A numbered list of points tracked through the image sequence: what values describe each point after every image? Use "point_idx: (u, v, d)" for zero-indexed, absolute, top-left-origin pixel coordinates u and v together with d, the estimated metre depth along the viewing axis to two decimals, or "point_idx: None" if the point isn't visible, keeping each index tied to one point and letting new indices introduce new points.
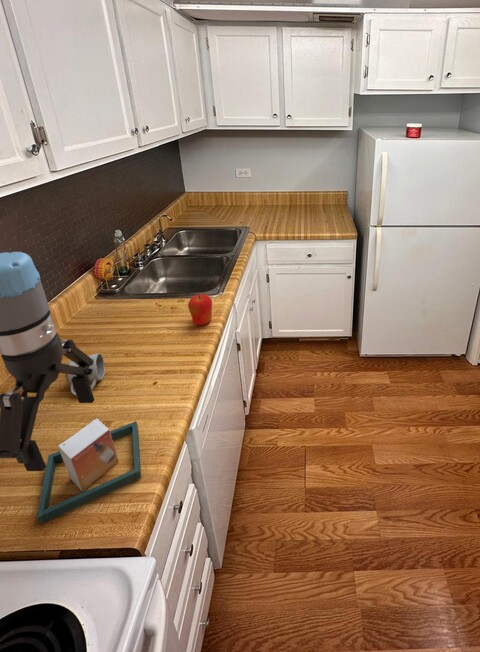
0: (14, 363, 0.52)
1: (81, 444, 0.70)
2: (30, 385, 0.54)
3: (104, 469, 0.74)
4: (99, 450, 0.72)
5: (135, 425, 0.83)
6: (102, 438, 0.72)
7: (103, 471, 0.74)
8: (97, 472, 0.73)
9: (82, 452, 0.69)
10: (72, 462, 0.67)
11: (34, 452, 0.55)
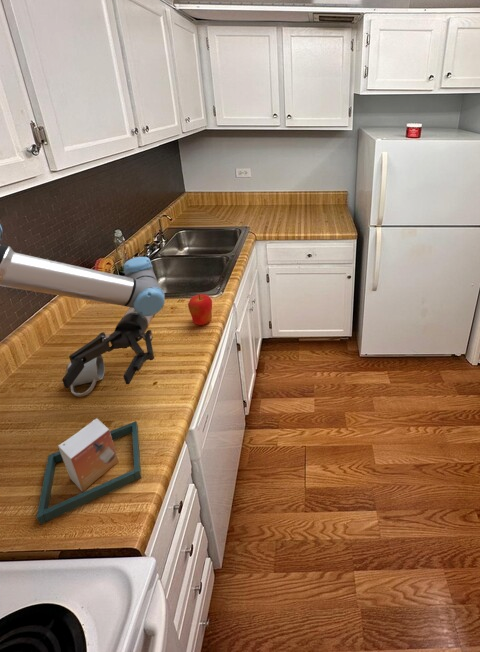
0: None
1: (81, 444, 0.70)
2: (111, 334, 0.91)
3: (104, 469, 0.74)
4: (99, 450, 0.72)
5: (135, 425, 0.83)
6: (102, 438, 0.72)
7: (103, 471, 0.74)
8: (97, 472, 0.73)
9: (82, 452, 0.69)
10: (72, 462, 0.67)
11: (74, 364, 0.80)
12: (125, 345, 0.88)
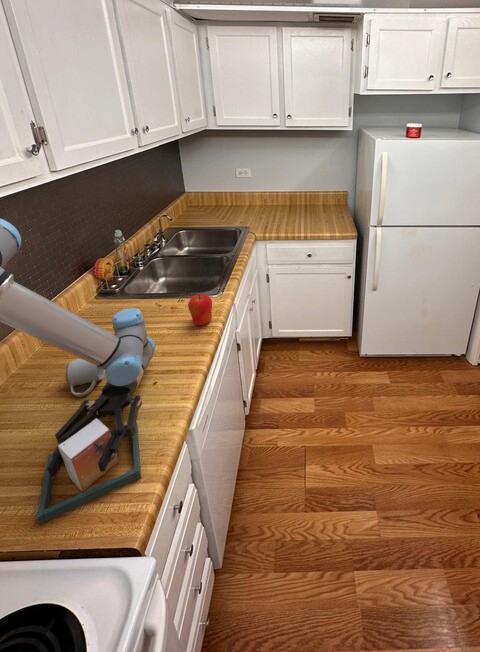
0: None
1: (81, 444, 0.70)
2: (97, 399, 0.83)
3: None
4: (99, 450, 0.72)
5: None
6: (102, 438, 0.72)
7: None
8: (97, 472, 0.73)
9: (82, 452, 0.69)
10: (72, 462, 0.67)
11: None
12: (112, 413, 0.81)
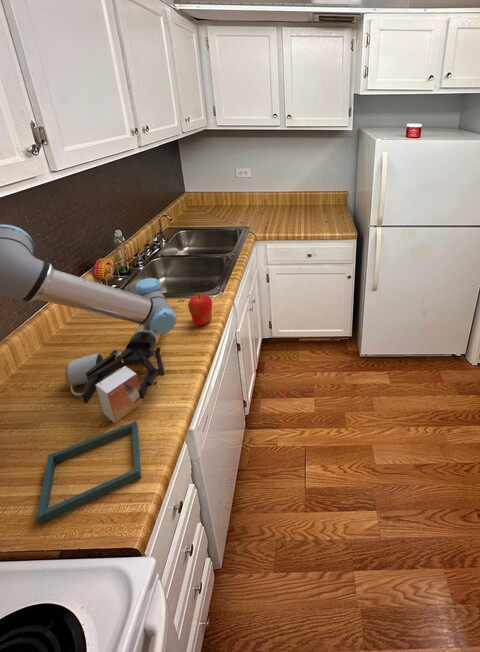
0: None
1: (114, 383, 0.85)
2: (123, 351, 0.98)
3: (132, 407, 0.89)
4: (129, 390, 0.87)
5: (135, 425, 0.83)
6: (131, 380, 0.87)
7: (131, 409, 0.89)
8: (126, 409, 0.88)
9: (116, 389, 0.84)
10: (108, 396, 0.82)
11: (91, 381, 0.88)
12: (137, 362, 0.96)
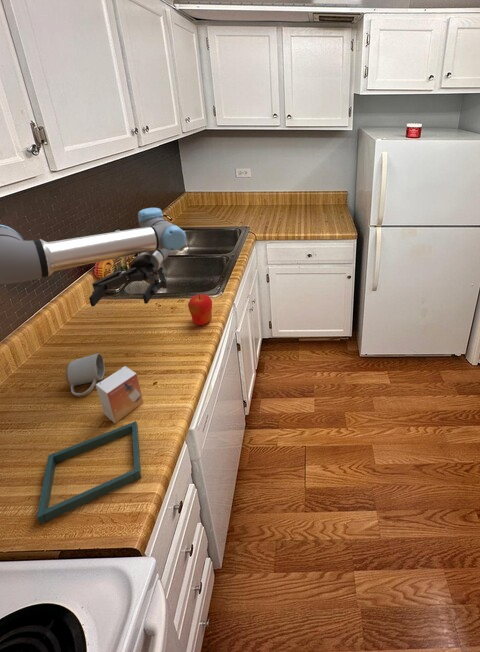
0: None
1: (114, 383, 0.85)
2: (127, 270, 1.02)
3: (132, 407, 0.89)
4: (129, 390, 0.87)
5: (135, 425, 0.83)
6: (131, 380, 0.87)
7: (131, 409, 0.89)
8: (126, 409, 0.88)
9: (116, 389, 0.84)
10: (108, 396, 0.82)
11: (97, 288, 0.92)
12: (140, 278, 1.00)
